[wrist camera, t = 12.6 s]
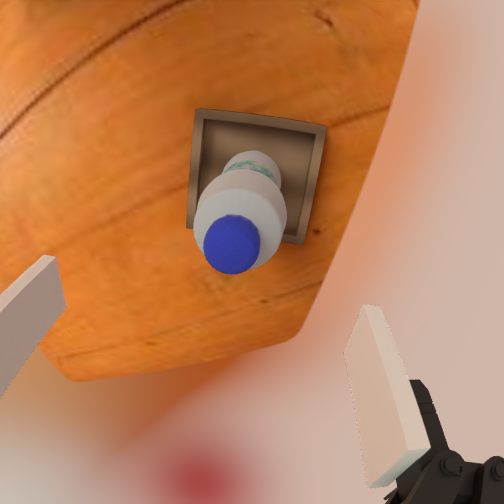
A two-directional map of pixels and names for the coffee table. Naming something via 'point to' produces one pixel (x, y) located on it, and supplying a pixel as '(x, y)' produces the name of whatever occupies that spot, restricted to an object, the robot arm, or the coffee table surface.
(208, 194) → the bottle
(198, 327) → the coffee table surface
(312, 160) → the tray
